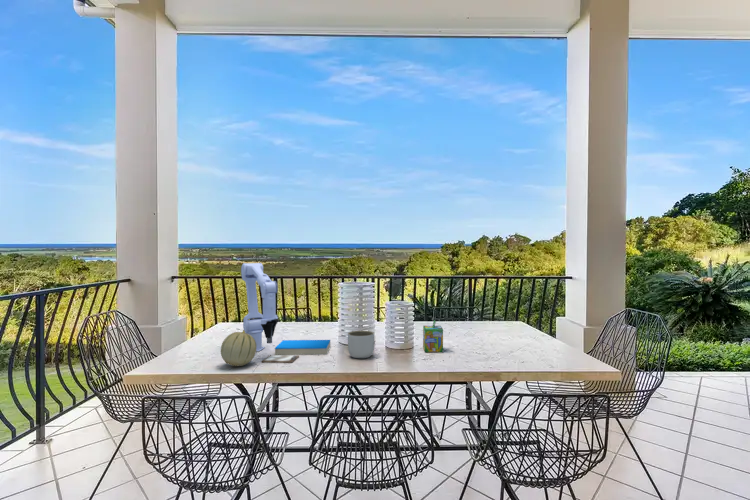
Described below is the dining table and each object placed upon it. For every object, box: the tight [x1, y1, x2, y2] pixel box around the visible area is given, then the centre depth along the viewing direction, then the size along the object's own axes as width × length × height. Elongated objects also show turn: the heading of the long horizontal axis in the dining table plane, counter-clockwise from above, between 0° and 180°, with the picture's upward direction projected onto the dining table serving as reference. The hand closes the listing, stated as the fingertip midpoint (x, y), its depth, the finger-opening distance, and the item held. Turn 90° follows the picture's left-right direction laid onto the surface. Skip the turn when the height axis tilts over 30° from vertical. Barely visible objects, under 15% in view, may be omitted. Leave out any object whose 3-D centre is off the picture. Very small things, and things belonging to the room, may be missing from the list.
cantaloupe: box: [220, 329, 257, 367], centre depth 166 cm, size 15×15×15 cm
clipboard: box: [261, 354, 300, 364], centre depth 175 cm, size 14×10×1 cm
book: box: [274, 339, 331, 356], centre depth 191 cm, size 17×4×25 cm
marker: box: [266, 332, 273, 344], centre depth 176 cm, size 3×3×8 cm
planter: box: [347, 330, 375, 359], centre depth 179 cm, size 12×12×11 cm
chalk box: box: [422, 319, 444, 353], centre depth 189 cm, size 9×9×15 cm
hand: (269, 337), depth 176 cm, fingers closed on marker, 2 cm apart
